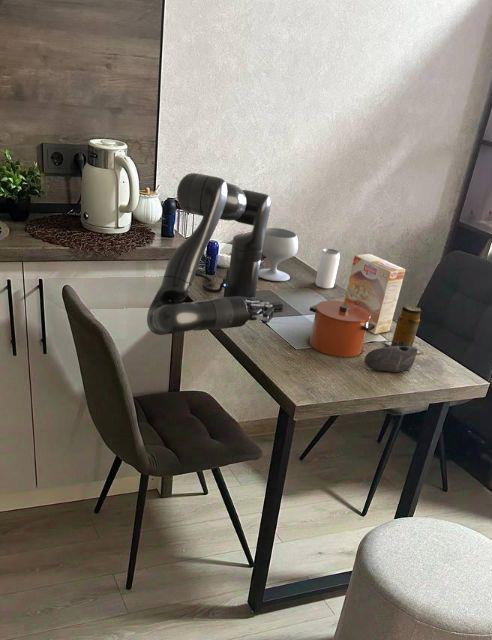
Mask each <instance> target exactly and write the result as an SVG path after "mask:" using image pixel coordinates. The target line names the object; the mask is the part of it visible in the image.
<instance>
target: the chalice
mask: <svg viewBox="0 0 492 640" xmlns="http://www.w3.org/2000/svg"><path fill="white" fill-rule="evenodd" d="M298 251H299V239H298V235H297V234H296V233H295V232H293V231H291V230H289V229H284V228H280V227H279V228H278V227H266V233H265V238H264V243H263V248H262V255H263V256H264V257H265V258H267V259H268V260H269V262H270V264H271V267H270V268H261V269H260V268H259V275H258V278H260V279H261V278H262V279H264V280H268V281H271V282H272V281H273V282H285V281H288V280H290V279H291V277H290V275H289V274H288V273H287V272H284V271H282V270H278V265H279V264H280V263H281V262H283V261H286V260H289V259H291V258H293V257H295V255H296V254H297V253H298Z"/></svg>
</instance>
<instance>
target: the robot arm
mask: <svg viewBox="0 0 492 640" xmlns="http://www.w3.org/2000/svg"><path fill="white" fill-rule="evenodd" d="M176 198H177V203H178V205H179V207H180V208H181V210H182V211H183V212H185V213H188V214H190V215H195V216H201V217H202V218H201V221H200V222H199V223H198V225H197V227H196V229H195V230H194V231H193V232H192V233H191V234H190V235H189V237H187V238H186V239H185V240H184V241H183V242H182V243H181V244H180V245H178V247H177V248H176V249H175V250H174V251H173V253H172V254H171V256H170V257H169V259H168V262H167V264H166V268H165V271H164V274H163V277H162V281H161V284H160V287H159V288H158V290H157V291H156V294H155V296H154V297H153V300H152V301H151V304H150V306H149V308H148V311H147V315H146V325H147V327H148V329H149V330H150V332H151V333H153V334H154V335H158V336H164V335H165V336H166V335H172V334H173V335H174V334H179V333H184V332H190V331H197V332H198V331H207V330H223V329H224V330H225V329H231V328H232V329H233V328H240V327H243V326H244V325H246V323H247V322H248V321H251V322H252V321H257V320H261V323H262V324H263V325H266V324H268V323H269V322H270V321H271V320H272V319H273V317H274V314H276V313H282V312H284V311H283V310H284V303H282V302H281V301H275V302H268V301H264V300H263V299H261V298H256V295H257V288H258V281H259V276H258V275H259V270H260V266H261V261H262V255H263V254H262V248H263V243H264V238H265V233H266V228H268V227H267V226H268V221H269V217H270V213H271V207H272V206H271V205H272V202H271V201H272V200H271V197H270V195H269V194H266V193H262V192H258V191H253V190H249V189H242V188H241V187H239V186H237V185H236V184H234V183H230V182H226V181H225V179H223V178H221V177H218V176H215V175H208V174H203V173H198V172H190V173H188V174H185V175H184V176H183V177H182V178H181V179H180V181H179V183H178V186H177V190H176ZM221 220H222V221H227V222H228V221H235V222H237V223H240V224H244V225H248V226H253V228H252V230H251V231H248V232H243V233H238V234H236V235H234V236H233V237H232V243H231V245H232V246H231V252H230V259H229V260H230V261H229V268H227V269H226V271H225V272H226V274H225V277H224V278H222V282H220V285H219V288H216V289H214V288H210V287H208V286H211V285H212V284H213V280H212V279H211V278H210V277H208V276H207V275H205V274H202V273H201V272H200V273H199V272H197V270H198V267H199V265H200V262H201V261H202V257H203V255H204V253H205V250H206V248H207V246H208V244H209V242H210V240H211V238H212V237H213V235H214V232H215V230H216V227H217V226H218V224H219V221H221ZM195 277H199V278H202V279H203V280H206V281H207V282H205V283H203V284H202V285H201V287H202V289H204V290H205V291H207V292H211V293H220V292H222V290H223V296H222V297H216V298H211V299H206V300H196V301H192V302H183V301H184V300H185V299H187V297H188V296H189V294H190V292H191V289H192V286H193V283H194V280H195Z"/></svg>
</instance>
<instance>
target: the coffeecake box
mask: <svg viewBox="0 0 492 640" xmlns="http://www.w3.org/2000/svg"><path fill="white" fill-rule="evenodd" d="M405 274H406V269H405V268H403V267H401V266H400V265H399V266H398V265H397V264H395V263H392V262H390V261H387V260H386V259H383V258H381V257H378V256H376V255H375V254H371V253H363V254H354V257H353V262H352V265H351V269H350V274H349V278H348V279H349V280H348V284H347V288H346V293H345V297H344V301H343V302H348V303H352V304H356V305H358V306H361V307H363V308H365V309H366V310H368V311H369V312H370V314H371V317H370V319H369V323H371V324H374V325H375V328H374V329H372V330H370V331H369V332H370V333H372V334H373V335H377V334H381V333H387V332H390V329H391V326H392V322H393V318H394V315H395V311H396V308H397V303H398V300H399V297H400V296H399V295H400V292H401V288H402V285H403V281H404V277H405Z"/></svg>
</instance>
